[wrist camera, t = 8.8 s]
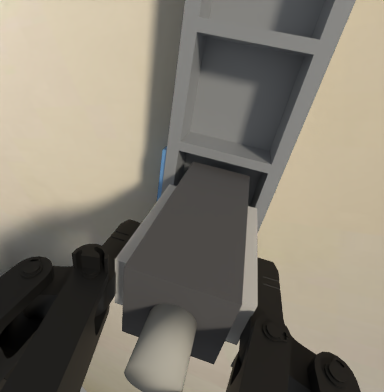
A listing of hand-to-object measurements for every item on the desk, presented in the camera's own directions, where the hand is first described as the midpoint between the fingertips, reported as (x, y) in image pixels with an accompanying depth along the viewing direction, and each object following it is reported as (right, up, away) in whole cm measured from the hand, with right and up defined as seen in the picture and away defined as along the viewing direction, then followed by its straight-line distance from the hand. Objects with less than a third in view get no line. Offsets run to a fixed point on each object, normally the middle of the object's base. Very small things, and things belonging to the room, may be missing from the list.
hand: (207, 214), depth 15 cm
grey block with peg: (+1, +1, +2) cm, 3 cm away
